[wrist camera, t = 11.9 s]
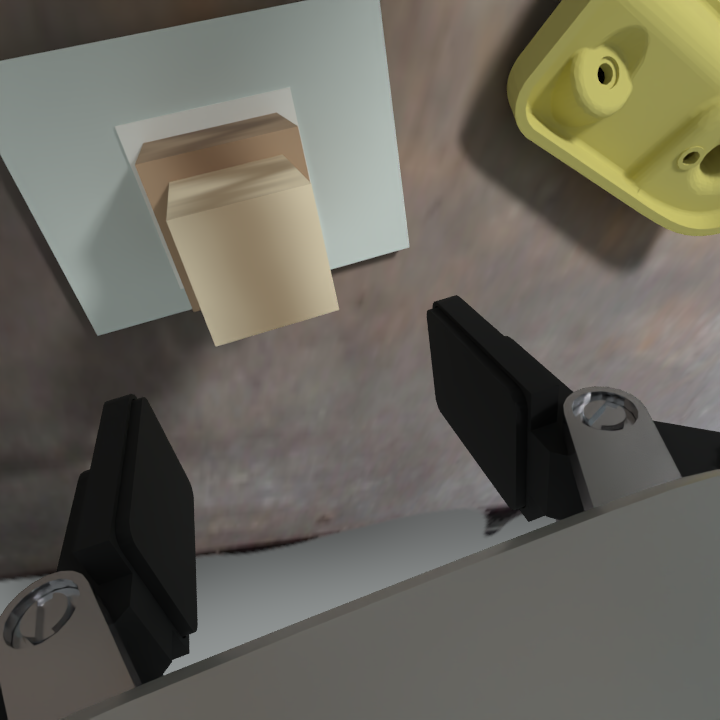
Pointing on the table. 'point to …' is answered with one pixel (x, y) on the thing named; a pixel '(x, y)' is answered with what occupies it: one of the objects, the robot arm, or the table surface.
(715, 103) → the plastic component
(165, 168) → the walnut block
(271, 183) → the maple block
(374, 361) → the table surface
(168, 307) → the board
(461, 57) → the table surface
